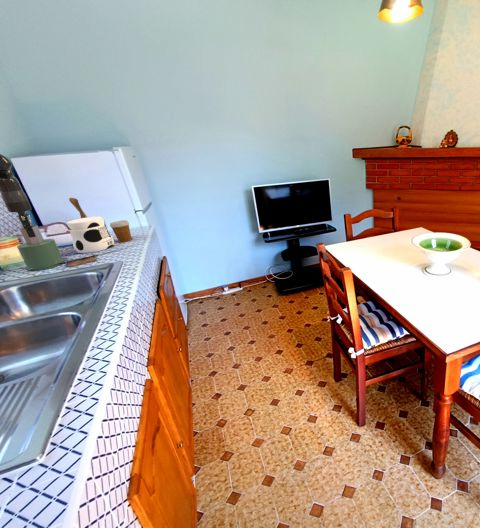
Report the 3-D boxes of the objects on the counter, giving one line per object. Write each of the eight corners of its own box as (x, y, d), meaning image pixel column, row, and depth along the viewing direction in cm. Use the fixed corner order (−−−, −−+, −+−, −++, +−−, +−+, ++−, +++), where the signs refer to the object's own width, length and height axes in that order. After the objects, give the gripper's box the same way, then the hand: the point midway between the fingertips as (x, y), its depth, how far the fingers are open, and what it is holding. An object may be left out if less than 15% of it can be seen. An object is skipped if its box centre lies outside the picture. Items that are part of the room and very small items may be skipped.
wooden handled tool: (89, 247, 175) (69, 199, 165) (86, 241, 188) (67, 196, 178) (103, 244, 180) (85, 197, 169) (99, 238, 193) (82, 195, 182)
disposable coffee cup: (114, 244, 178) (106, 225, 174) (118, 240, 186) (111, 221, 182) (132, 242, 181) (125, 222, 177) (136, 237, 190) (130, 219, 185)
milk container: (77, 251, 168) (63, 220, 162) (114, 244, 179) (103, 214, 172) (77, 259, 156) (63, 225, 149) (117, 250, 166) (105, 218, 160)
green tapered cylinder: (27, 273, 140) (14, 249, 135) (27, 266, 149) (16, 244, 144) (66, 264, 149) (56, 241, 144) (64, 258, 158) (54, 237, 153)
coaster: (68, 267, 145) (68, 266, 144) (67, 262, 152) (66, 261, 152) (97, 260, 152) (96, 259, 151) (94, 256, 159) (93, 255, 159)
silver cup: (27, 245, 140) (19, 229, 137) (27, 243, 144) (19, 227, 141) (44, 242, 144) (37, 226, 141) (44, 240, 148) (37, 224, 145)
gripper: (5, 200, 139) (22, 235, 145) (3, 203, 129) (21, 240, 136) (27, 198, 144) (43, 231, 150) (27, 200, 134) (43, 236, 140)
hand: (32, 235), depth 143 cm, fingers closed on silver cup, 6 cm apart
